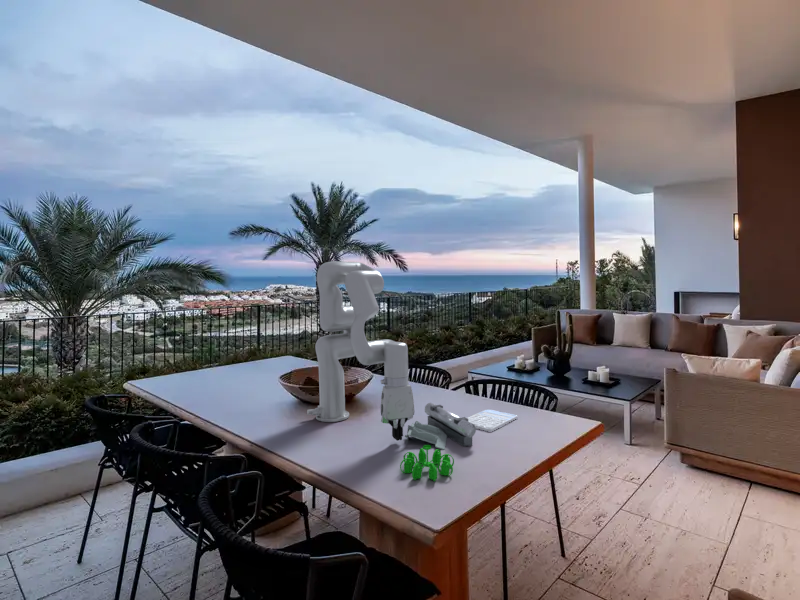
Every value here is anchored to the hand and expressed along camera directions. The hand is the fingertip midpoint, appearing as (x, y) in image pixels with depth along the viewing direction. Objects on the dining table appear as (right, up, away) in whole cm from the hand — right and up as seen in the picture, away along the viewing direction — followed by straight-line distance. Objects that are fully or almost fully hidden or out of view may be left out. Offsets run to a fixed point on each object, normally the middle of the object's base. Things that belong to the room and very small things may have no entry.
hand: (397, 438), depth 136 cm
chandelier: (+8, -3, -20) cm, 22 cm away
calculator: (+33, -1, +20) cm, 39 cm away
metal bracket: (+10, -2, +3) cm, 10 cm away
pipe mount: (+17, -1, +8) cm, 19 cm away
